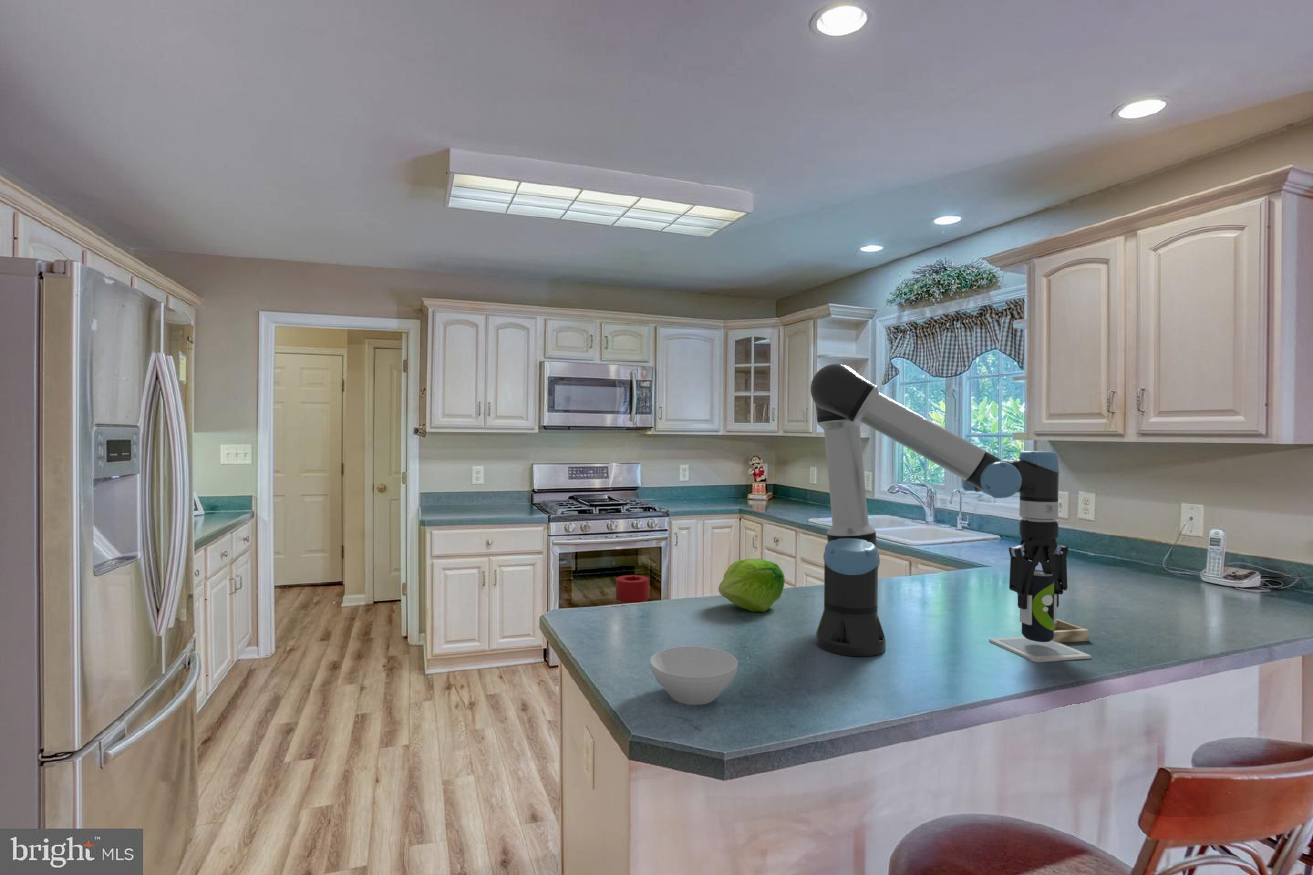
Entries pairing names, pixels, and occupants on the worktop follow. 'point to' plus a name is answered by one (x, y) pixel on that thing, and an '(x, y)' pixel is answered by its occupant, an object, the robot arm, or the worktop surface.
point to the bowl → (693, 672)
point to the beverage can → (1041, 608)
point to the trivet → (1039, 649)
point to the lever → (632, 588)
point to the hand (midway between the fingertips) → (1038, 622)
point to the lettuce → (753, 584)
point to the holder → (1069, 632)
